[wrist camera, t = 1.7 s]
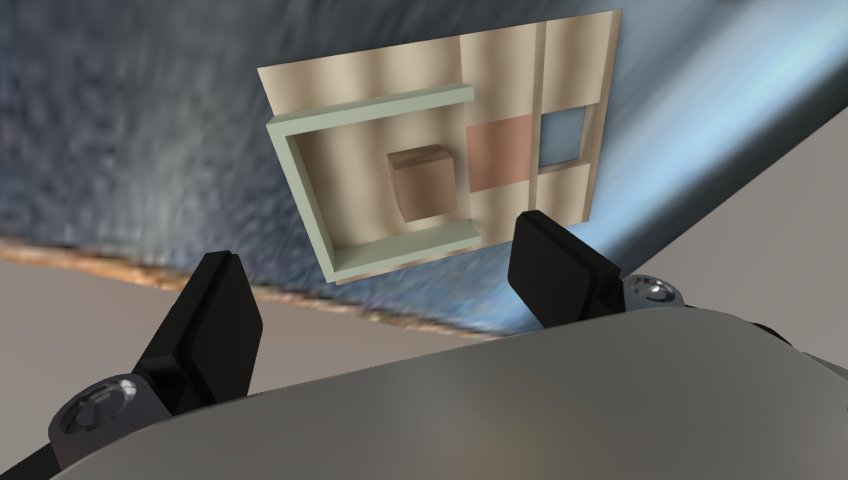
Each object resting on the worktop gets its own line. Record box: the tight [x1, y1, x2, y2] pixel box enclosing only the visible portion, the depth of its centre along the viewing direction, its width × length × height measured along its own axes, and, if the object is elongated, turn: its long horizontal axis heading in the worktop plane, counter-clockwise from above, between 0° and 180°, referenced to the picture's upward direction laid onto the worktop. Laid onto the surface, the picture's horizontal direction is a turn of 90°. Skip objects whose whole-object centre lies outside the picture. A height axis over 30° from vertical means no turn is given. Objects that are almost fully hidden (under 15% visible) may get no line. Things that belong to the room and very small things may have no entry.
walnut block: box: [387, 144, 458, 223], centre depth 30 cm, size 5×5×5 cm
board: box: [257, 9, 623, 285], centre depth 33 cm, size 32×22×2 cm
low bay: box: [266, 82, 481, 283], centre depth 30 cm, size 16×15×4 cm
